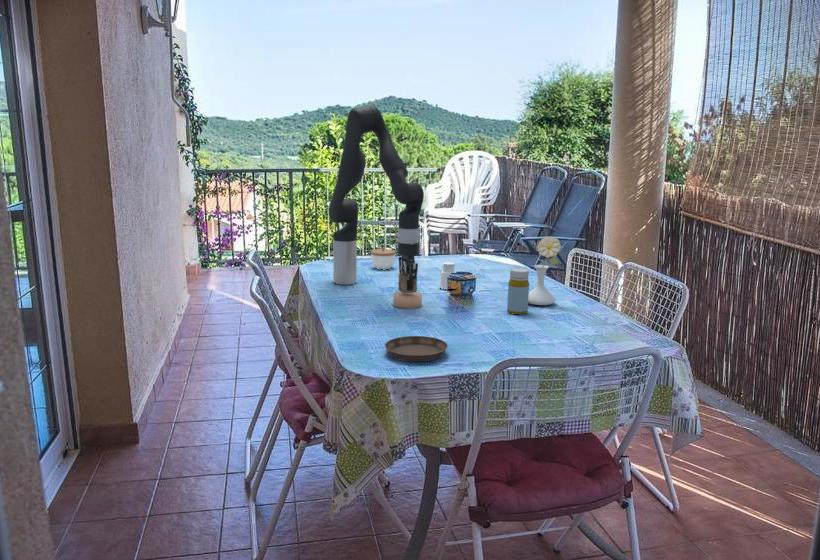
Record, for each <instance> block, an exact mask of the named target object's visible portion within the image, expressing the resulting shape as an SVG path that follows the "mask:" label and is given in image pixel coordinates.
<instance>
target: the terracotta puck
mask: <svg viewBox="0 0 820 560" xmlns="http://www.w3.org/2000/svg"><path fill="white" fill-rule="evenodd" d="M422 303H423V294H422V293H420V292H418V291H417V292H414V293H402V292H401V291H399V290H398V291H395V292H394V293H393V302H392V305H393V306H394V307H395V308H399V309H406V310H411V309H412V310H413V309H418V308H421V307H422Z"/></svg>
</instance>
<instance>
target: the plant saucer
mask: <svg viewBox="0 0 820 560" xmlns="http://www.w3.org/2000/svg"><path fill="white" fill-rule="evenodd" d="M448 345H449V344H448V343H447V342H446V341H444V340H443V339H440V338H436V337H431V336H424V335H423V336H422V335H409V336H401V337H400V336H399V337H396V338H392V339H390V340H388V341H386V342H385V344H384V348H385V350H386V352H388V353H389V355H390V356H391V357H392V356H393V358H394V359H396V358H397V359H396V360H398V359H400V360H399V361H402V360H404V361H403V362H407V361H427V362H429V361H428V360H432V361H434V360H433V359H435V360H438V359H439V358H441V357H442V356H443V355H444V354H445V352H446V351H447V350H448V347H449V346H448Z"/></svg>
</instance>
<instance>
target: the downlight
mask: <svg viewBox="0 0 820 560" xmlns="http://www.w3.org/2000/svg"><path fill="white" fill-rule="evenodd" d="M451 273H456V274H457V271H455V262H443V263H442V270H441V272H440V286H441V289H440V290H445V289H447V277H448V276H449V275H450V274H451ZM443 288H444V289H443Z"/></svg>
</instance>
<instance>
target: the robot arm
mask: <svg viewBox="0 0 820 560" xmlns="http://www.w3.org/2000/svg"><path fill="white" fill-rule="evenodd" d="M345 128H346V129H345V136H344V137H345V139H344V143H343V149H342V154H341V159H340V164H339V168H338V171H337V172H338V173H337V179H336V184H335V186H334V187H335V188H334V191H333V193H332V195H331V199H330V202H329V208H328V217H329V220H330V221H331V222H332V223H335V224H344V223H346V224H345V226H344V227H341V228H340V229H339V230H336V231H334V232H333V234H332V235H333V236H332V240H333V241H332V246H333V247H332V250H333V251H332V252H333V253H332V254H333V256H332V261H333V262H332V263H333V264H332V265H333V268H332V269H333V270H332V271H333V273H332V274H333V278H332V280H333V281H332V283H333V282H334V283H333V284H335V283H336V284H335V285H340V286H344V285H345V286H348V285H355V284H357V278H358V277H357V273H358V271H357V270H358V269H357V264H358V261H357V260H358V259H357V258H358V256H357V255H358V250H357V249H358V247H357V246H358V244H357V243H358V242H357V241H358V238H357V237H358V225H359V224H358V221H359V220H358V219H359V205H358V201H357V200H356V199H355V198H346V196H348V194H349V193H350V192H351V191H352V190H353V189H354V188H355V187H356V186H358V185H359V183H360V182H361V181H362V179H363V176H364V173H365V169H366V164H367V162H366V158H365V155H364V153H363V151H362V149H361V145H360V144H361V140H362V136H363V135H364V134H368V133H371V132H373V133H374V135H375V136H376V138H377V140H378V144H379V145H378V146H379V150H378V151H379V155H378V157H379V158H378V159H379V163H380V165H381V167H382V169H383V171H384V173H385V174H386V176H387V178H388V179H389V184H390V187H391V191H392V194H393V196H394V198H395V200H396V201H397V202H398V203H399V204H401V205H405V206H404V207H405V208H404V209H403V210H401V211H400V212H399V214H398V227H397V228H398V229H397V231H398V232H397V249H396V250H397V251H396V252H397V253H396V254H397V255H399V256H398V258H397V259H398V271H399V273H406V274H407V290H408V291H412V290H413V286H414V279H416V278H417V279H418V268H419V263H417V262H416V260H415V256H418V255H420V228H419V227H420V215H421V211H422V207H423V202H424V197H425V193H424V192H425V191H424V189H423V187H422V185H421V184H419V183H418V182H407V181H406V178H407V176H408V175H409V172H408V168H407V167H406V165H405V163H404V162H403V160H402V158H401V157H400V155H399V153H398V151H397V150H396V147H395V145H394V142H393V140H392V137H391V135H390V132H389V130H388V126H387V124H386V121H385V120H384V116H383V115H382V113H381V111H380V109H379V108H378V107H377V106H376V105H373V104H367V105H362V106H357V107H353V108H352V109H351V110H350V111H349V112H348V115H347V120H346V127H345ZM399 273H398V274H399Z"/></svg>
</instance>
